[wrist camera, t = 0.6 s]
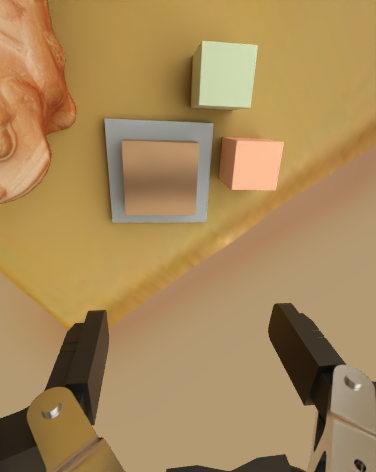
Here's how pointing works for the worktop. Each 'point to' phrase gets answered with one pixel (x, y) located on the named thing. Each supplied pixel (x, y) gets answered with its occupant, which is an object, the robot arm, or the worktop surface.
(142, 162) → the walnut base
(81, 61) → the worktop surface
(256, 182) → the terracotta block
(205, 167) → the board
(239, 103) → the sage block
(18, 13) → the ceramic vessel
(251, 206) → the worktop surface
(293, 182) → the worktop surface
